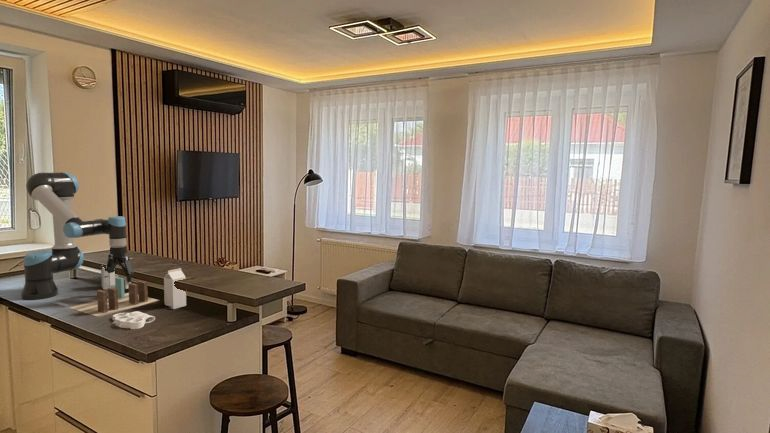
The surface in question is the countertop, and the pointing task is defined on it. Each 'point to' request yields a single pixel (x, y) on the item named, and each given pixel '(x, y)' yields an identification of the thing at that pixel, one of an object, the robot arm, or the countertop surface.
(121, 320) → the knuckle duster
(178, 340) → the countertop surface
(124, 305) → the birch board
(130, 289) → the domino
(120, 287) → the domino
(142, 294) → the domino
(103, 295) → the domino
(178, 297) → the milk carton
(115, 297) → the domino
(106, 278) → the supplement box
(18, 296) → the countertop surface
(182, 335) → the countertop surface
